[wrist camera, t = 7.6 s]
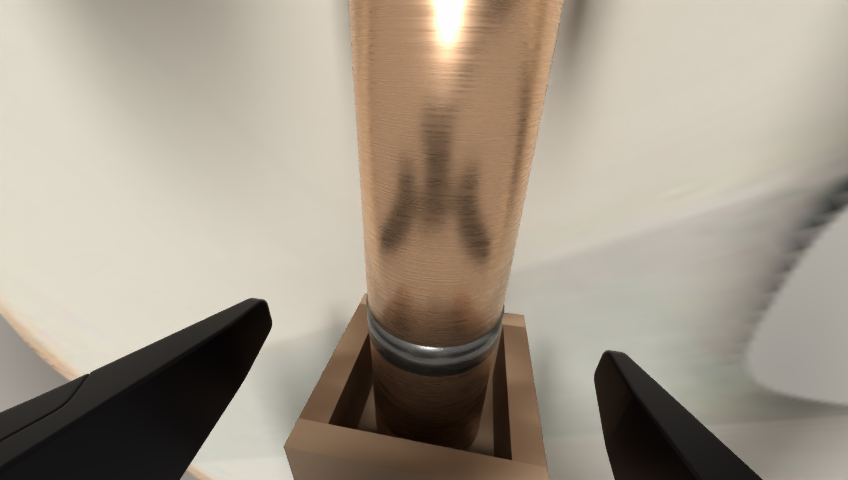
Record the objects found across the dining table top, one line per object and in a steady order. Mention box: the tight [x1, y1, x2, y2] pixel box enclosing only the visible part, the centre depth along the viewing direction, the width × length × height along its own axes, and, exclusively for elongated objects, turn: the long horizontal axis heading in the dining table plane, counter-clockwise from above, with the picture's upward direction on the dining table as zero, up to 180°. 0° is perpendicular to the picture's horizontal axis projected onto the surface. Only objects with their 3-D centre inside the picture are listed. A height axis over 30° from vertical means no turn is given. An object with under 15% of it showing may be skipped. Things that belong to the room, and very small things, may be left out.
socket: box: [284, 294, 549, 480], centre depth 12 cm, size 7×4×7 cm, turn 88°
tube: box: [349, 0, 564, 451], centre depth 8 cm, size 19×4×4 cm, turn 178°
